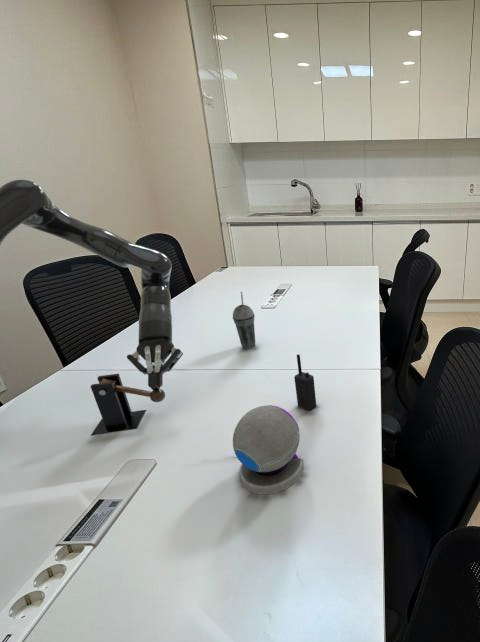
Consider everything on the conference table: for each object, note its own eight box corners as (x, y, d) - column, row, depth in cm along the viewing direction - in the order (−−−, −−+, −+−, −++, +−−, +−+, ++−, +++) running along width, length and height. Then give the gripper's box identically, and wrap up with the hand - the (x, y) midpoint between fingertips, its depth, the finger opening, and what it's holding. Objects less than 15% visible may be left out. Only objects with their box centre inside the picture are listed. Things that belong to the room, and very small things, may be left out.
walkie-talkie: (317, 405, 103) (312, 355, 97) (308, 412, 100) (303, 361, 94) (304, 400, 105) (298, 351, 99) (295, 406, 103) (289, 356, 97)
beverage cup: (234, 350, 135) (223, 295, 127) (245, 341, 142) (235, 289, 133) (252, 352, 134) (243, 296, 125) (263, 343, 140) (254, 290, 132)
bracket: (147, 413, 102) (133, 369, 96) (138, 432, 94) (122, 385, 89) (105, 419, 100) (88, 374, 94) (92, 438, 92) (73, 391, 87)
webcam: (315, 462, 83) (309, 404, 77) (273, 504, 73) (262, 441, 67) (270, 443, 89) (261, 387, 83) (226, 479, 79) (212, 419, 73)
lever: (165, 398, 99) (168, 387, 98) (161, 406, 96) (164, 394, 95) (102, 387, 94) (104, 375, 93) (96, 394, 91) (98, 382, 90)
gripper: (187, 327, 105) (188, 388, 99) (134, 332, 103) (132, 396, 97) (178, 315, 99) (179, 381, 93) (121, 321, 96) (118, 389, 90)
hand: (155, 388), depth 95 cm, fingers closed
